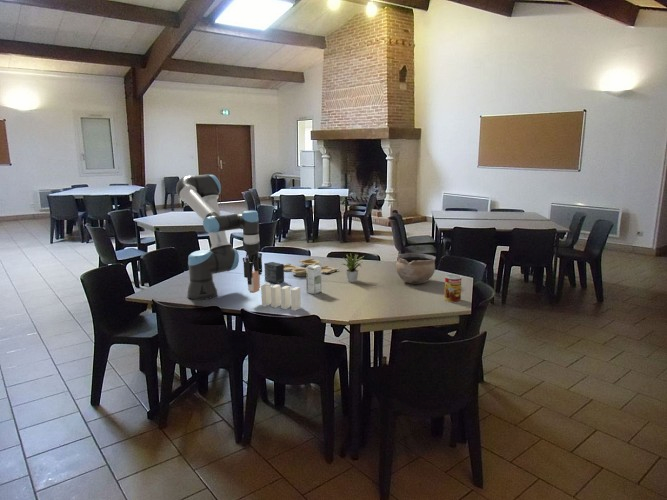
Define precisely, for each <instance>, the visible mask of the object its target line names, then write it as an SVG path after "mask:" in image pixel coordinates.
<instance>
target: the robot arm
mask: <svg viewBox="0 0 667 500" xmlns="http://www.w3.org/2000/svg"><path fill="white" fill-rule="evenodd" d="M221 185H222V184H221V182H220V181H219V179H218V177H217V176H216V175H215V174H198V175H197V174H195V175H194V174H193V175H191V174H190V175H185V176H183V177H181V178H180V179H179V180H178V182H177V183H176V187H175V191H176V196H177V197H178V198H179V199H180V200H181V201H182V202H184V203H186V204H187V205H188V206H189V207H190V208H191V209H192V210H193V211H194V212H195V213H196V215H197V216H198V217H199V218H200V219H201V220H202V221H203V222H202V226H203V228H204V231H205V232H206V233H208V236H209V240H210V244H211V246H210V249H200V250H195V251H193V252H191V253H190V254H188V257H187V258H188V260H187V266H188V274H189V284H188V287H187V289H188V290H187V292H186V293H187V298H188V299H190V298H191V299H190V300H207V299H206V298H208V299H211V298H210V297H212V298H214V297H213V296H215V297H216V296H217V295H218V289H217V288H216V285H215V282H214V277H213V276H214V274H219V273H225V272H230V271H235V270H236V269H237V267H238V266H239V262H240V255H239V252H238V250H237V249H236V248H234V247H233V246H232V244H231V243H229V241H228V238H227V234H226V231H232V230H242V231H243V233H242V237H243V243H244V244H243V248H244V249H243V251H245V253H246V254H245V257H242V263H243V274H244V275H243V276H244V278H246V279H247V280H246V281H247V287H248V288H247V289H248V291H249V292H250V291H254V285H253V278H252V271H254V270H255V271H258V274H259V289H261V281H260V280H261V275H262V274H263V261H262V260H263V259H262V258H263V257H262V256H263V253H262V252H259V251H260V250H261V246H260V245H261V244H260V222H259V220H260V218H259V213H258V211H257V210H244V211H242V212H233V213H231V214H224V215H221V211H220V210H221V209H220V207H219V204H218V200H219V197H220V196H219V195H220V194H221V191H222V186H221Z"/></svg>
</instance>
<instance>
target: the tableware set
mask: <svg viewBox="0 0 667 500" xmlns="http://www.w3.org/2000/svg"><path fill="white" fill-rule="evenodd" d="M298 262H299V263H301V264H302V265H305V267H302V266H301V267H300V266H298V265H293V264H292V263H286V264H284V272H292V273H293V274H294V275H295V276H297V277H304V276H305V277H306V266H310V265H313V264H315V265H320V261H319V260H316V259H315V258H314V257H311V258H306V259H301V260H298ZM320 266H321V274H331V273H334V272H336V271H337V270H339V267H331V266H329V265H320Z"/></svg>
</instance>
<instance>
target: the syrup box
mask: <svg viewBox="0 0 667 500" xmlns="http://www.w3.org/2000/svg"><path fill="white" fill-rule="evenodd" d="M321 266H322V265H320V264H317V265H315V264H313V265H310V266H307V267H306V266H305V268H306V276H305V277H306V293H308V294H312V295H316V294H319V293H322V273H321Z"/></svg>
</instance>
